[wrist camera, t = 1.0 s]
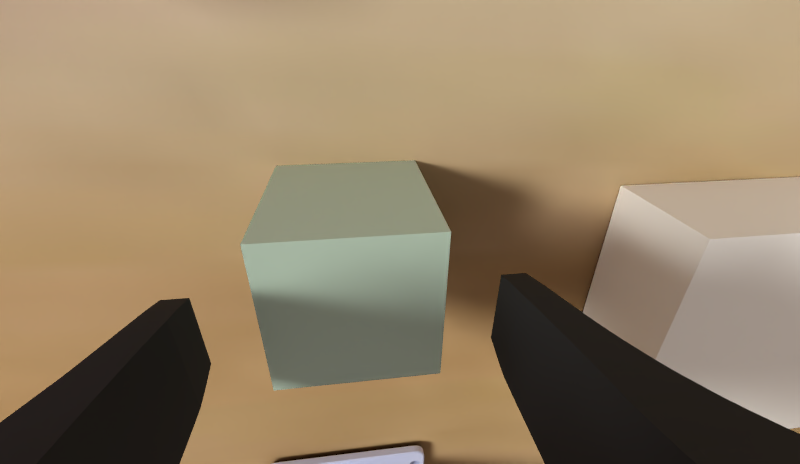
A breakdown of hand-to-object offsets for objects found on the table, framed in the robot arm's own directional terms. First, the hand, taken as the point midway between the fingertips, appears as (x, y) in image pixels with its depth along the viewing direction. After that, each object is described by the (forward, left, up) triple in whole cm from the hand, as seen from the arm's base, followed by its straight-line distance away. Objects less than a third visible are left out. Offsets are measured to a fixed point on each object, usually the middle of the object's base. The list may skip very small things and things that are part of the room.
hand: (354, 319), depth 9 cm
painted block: (-4, -15, -5) cm, 16 cm away
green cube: (0, 0, -5) cm, 5 cm away
